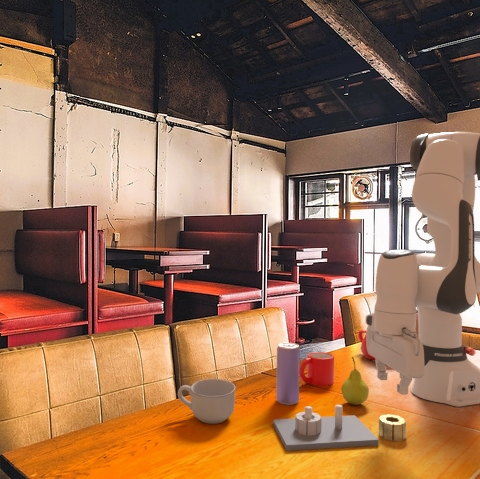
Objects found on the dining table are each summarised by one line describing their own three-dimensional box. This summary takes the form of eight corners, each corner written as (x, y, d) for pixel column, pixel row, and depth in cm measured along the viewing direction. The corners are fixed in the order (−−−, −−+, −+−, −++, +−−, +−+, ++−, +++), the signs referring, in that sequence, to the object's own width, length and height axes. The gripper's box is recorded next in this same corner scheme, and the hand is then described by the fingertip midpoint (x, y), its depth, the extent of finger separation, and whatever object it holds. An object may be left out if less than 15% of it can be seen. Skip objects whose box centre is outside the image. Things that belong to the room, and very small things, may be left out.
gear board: (354, 420, 113) (355, 394, 113) (378, 445, 100) (379, 416, 100) (273, 424, 110) (273, 398, 110) (286, 450, 97) (287, 421, 97)
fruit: (372, 409, 120) (372, 362, 120) (345, 409, 120) (346, 362, 120) (363, 399, 127) (363, 354, 127) (338, 399, 127) (338, 355, 126)
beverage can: (298, 406, 122) (298, 348, 121) (274, 404, 123) (275, 347, 122) (299, 398, 127) (300, 343, 127) (277, 396, 129) (278, 341, 128)
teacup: (241, 413, 117) (241, 381, 117) (225, 431, 107) (226, 396, 106) (190, 406, 121) (190, 375, 121) (170, 422, 111) (170, 388, 111)
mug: (291, 382, 140) (291, 356, 140) (320, 375, 147) (320, 350, 147) (309, 390, 134) (310, 362, 134) (339, 382, 141) (339, 356, 141)
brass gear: (397, 429, 108) (398, 414, 108) (409, 440, 103) (409, 424, 103) (375, 431, 107) (375, 415, 107) (386, 441, 102) (386, 425, 102)
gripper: (434, 334, 94) (431, 403, 94) (387, 315, 114) (384, 372, 115) (404, 333, 93) (401, 403, 93) (362, 315, 113) (359, 372, 114)
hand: (391, 386), depth 104 cm, fingers open, 8 cm apart
